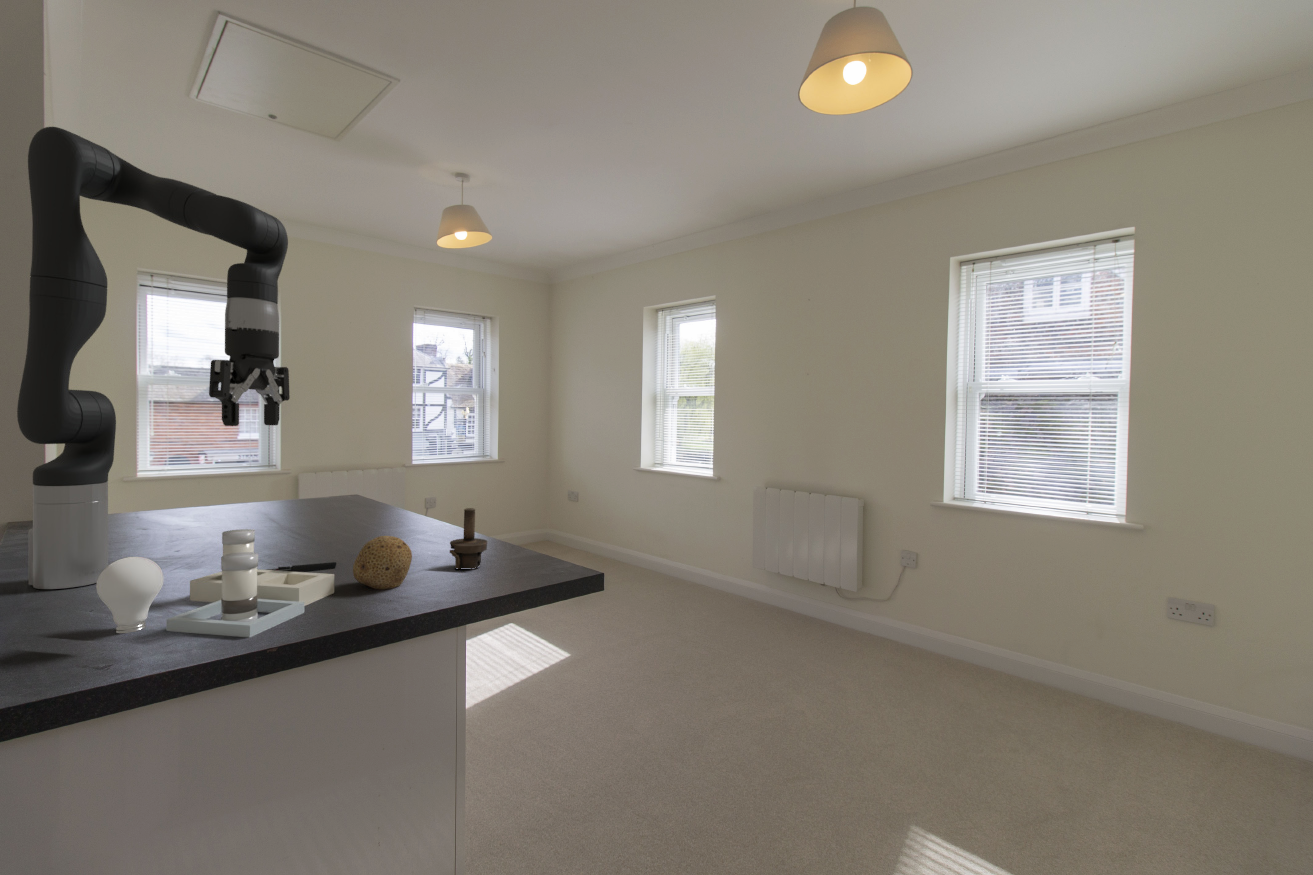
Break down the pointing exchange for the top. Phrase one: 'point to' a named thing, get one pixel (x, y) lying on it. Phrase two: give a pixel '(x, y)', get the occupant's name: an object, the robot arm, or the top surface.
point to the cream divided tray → (270, 586)
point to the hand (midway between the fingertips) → (251, 425)
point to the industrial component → (468, 544)
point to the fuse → (238, 541)
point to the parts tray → (200, 624)
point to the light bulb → (130, 591)
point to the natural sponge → (383, 563)
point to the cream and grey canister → (239, 587)
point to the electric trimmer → (307, 567)
